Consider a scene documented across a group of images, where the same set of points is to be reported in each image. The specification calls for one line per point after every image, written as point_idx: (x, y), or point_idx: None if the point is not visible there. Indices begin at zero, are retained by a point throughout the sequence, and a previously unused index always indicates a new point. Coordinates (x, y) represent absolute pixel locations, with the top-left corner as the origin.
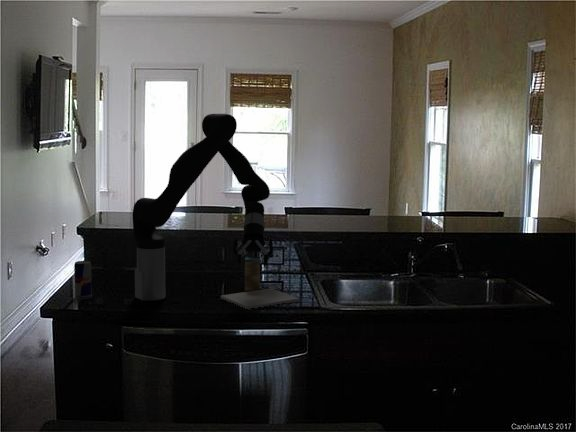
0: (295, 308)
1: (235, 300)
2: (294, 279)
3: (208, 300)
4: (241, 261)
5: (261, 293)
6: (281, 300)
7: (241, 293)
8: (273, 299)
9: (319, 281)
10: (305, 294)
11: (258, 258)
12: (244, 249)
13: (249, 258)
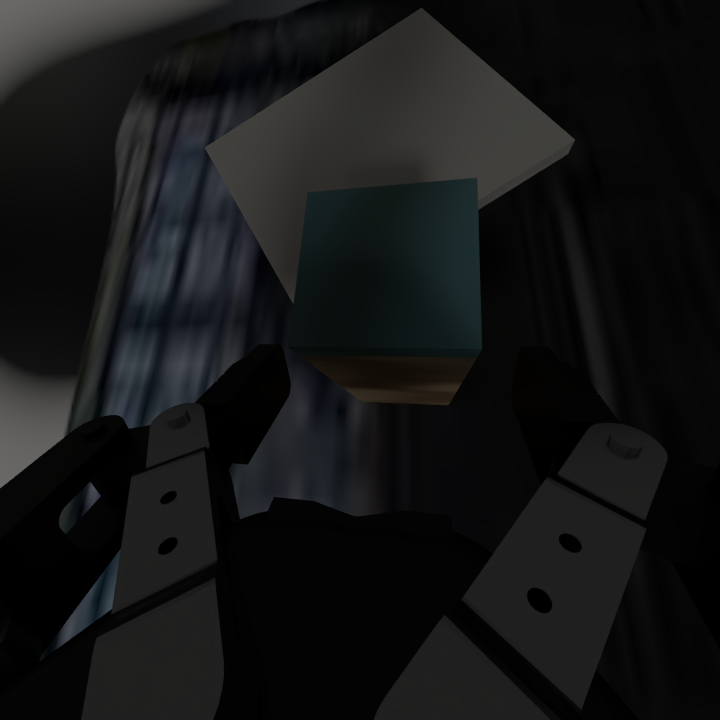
0: (243, 74)
1: (480, 74)
2: None
3: (629, 115)
4: (528, 394)
5: None
6: (278, 109)
7: None
8: (308, 117)
9: None
10: (163, 268)
11: (312, 257)
12: (548, 478)
13: (421, 249)
